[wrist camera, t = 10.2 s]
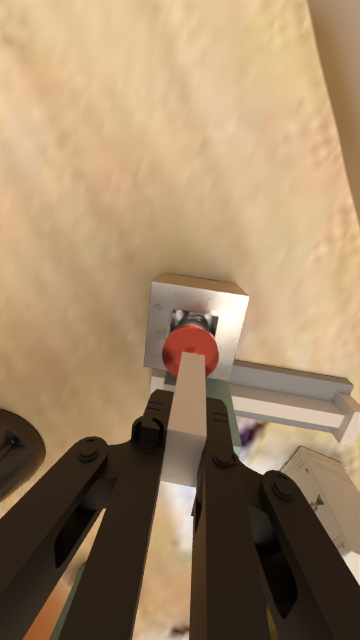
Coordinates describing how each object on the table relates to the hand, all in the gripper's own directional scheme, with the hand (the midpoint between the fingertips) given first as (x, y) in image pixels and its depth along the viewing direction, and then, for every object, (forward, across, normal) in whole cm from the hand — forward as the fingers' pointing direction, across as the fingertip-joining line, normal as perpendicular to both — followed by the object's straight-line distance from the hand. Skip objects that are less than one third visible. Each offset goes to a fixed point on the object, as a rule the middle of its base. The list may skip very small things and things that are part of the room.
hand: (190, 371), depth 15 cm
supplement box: (+15, +22, -23) cm, 35 cm away
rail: (+15, +9, -10) cm, 20 cm away
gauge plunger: (+10, 0, 0) cm, 10 cm away
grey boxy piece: (+15, 0, 0) cm, 15 cm away
